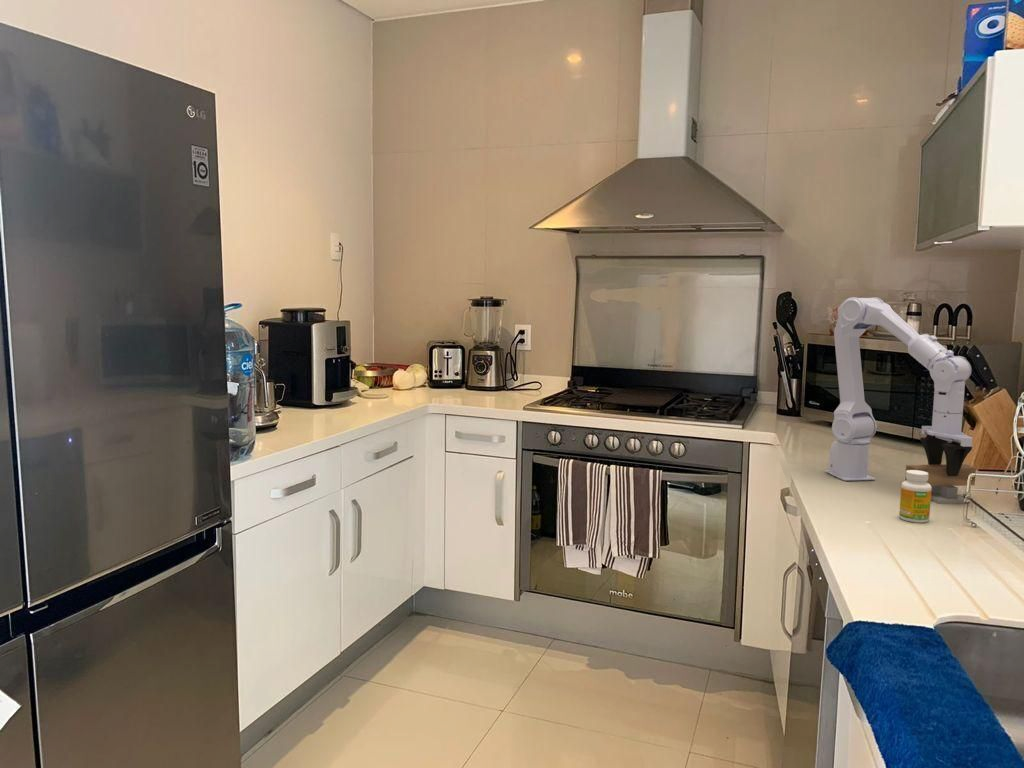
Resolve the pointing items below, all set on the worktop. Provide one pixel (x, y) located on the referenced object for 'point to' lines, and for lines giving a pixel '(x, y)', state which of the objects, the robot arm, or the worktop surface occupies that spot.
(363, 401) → the worktop surface
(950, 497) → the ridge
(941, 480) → the beam
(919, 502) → the supplement bottle
